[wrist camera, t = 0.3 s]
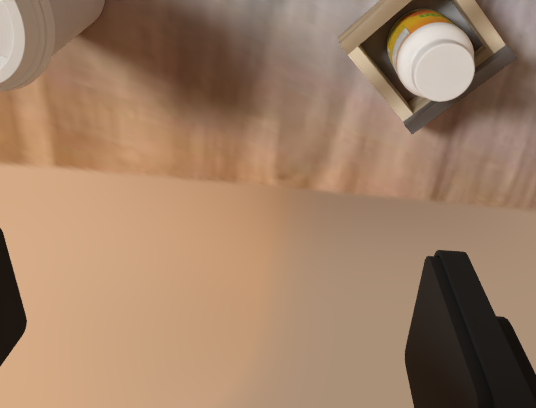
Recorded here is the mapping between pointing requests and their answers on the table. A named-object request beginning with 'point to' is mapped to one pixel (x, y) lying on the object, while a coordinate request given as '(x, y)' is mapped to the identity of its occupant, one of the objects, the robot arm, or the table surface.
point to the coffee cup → (38, 35)
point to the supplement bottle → (431, 55)
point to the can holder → (419, 108)
